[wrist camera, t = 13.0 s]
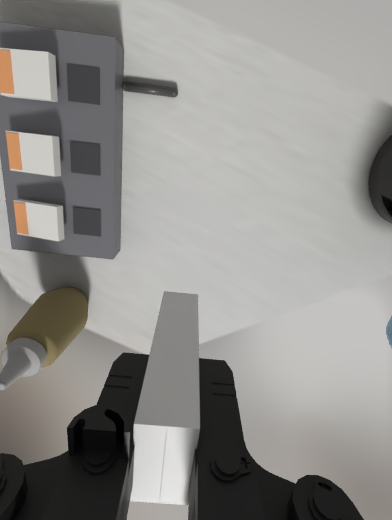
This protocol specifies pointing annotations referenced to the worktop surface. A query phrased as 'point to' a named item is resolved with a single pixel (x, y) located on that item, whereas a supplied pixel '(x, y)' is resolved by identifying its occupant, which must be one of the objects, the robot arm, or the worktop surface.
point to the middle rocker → (34, 153)
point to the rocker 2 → (39, 219)
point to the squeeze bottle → (43, 333)
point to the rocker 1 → (28, 74)
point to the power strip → (73, 139)
